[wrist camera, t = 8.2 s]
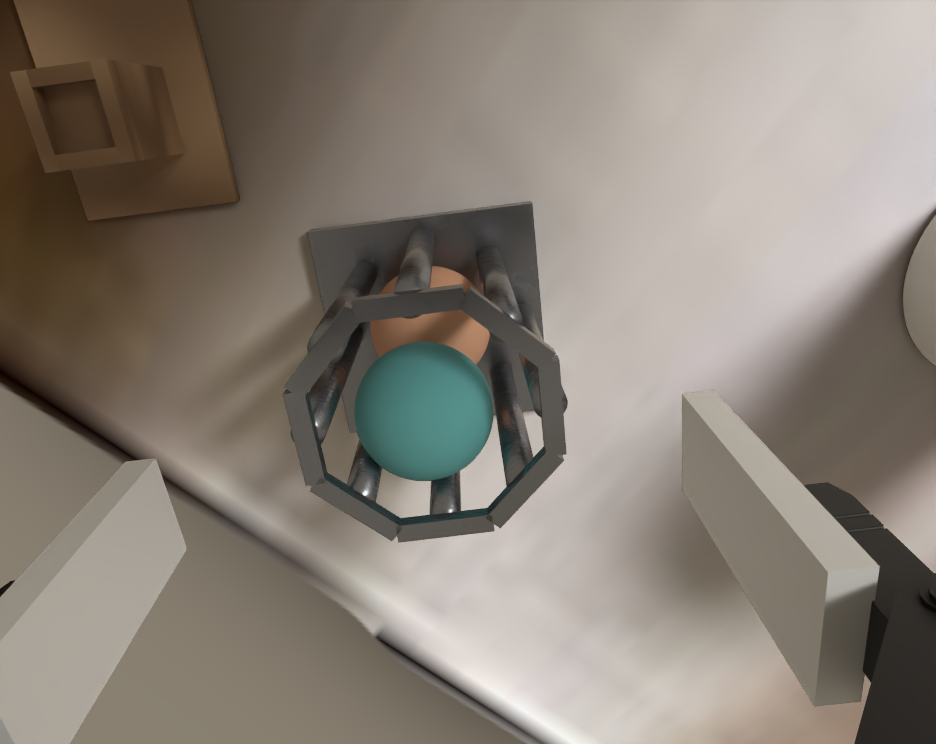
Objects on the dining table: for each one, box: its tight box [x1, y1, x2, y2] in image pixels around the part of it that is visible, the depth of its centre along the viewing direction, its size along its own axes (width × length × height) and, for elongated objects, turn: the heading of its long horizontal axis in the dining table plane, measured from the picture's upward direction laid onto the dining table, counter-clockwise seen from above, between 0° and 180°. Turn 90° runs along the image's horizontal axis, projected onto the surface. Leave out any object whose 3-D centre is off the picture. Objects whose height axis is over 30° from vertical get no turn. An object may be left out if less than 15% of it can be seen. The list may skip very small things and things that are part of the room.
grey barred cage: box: [283, 201, 568, 542], centre depth 23 cm, size 9×9×10 cm
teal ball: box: [354, 342, 493, 481], centre depth 22 cm, size 5×5×5 cm
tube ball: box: [371, 266, 490, 365], centre depth 25 cm, size 5×5×5 cm
